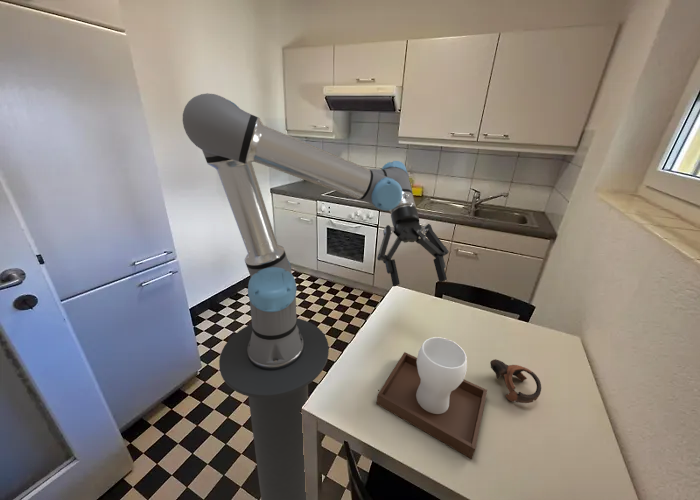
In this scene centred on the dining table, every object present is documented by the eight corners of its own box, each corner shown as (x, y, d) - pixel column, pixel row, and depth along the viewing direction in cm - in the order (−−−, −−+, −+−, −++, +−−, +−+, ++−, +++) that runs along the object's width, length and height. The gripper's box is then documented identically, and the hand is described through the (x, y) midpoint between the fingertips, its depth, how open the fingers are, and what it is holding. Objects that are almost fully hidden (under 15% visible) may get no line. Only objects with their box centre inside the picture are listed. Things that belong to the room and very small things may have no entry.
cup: (458, 392, 69) (472, 345, 64) (451, 429, 61) (466, 378, 55) (416, 375, 74) (425, 329, 68) (404, 406, 65) (413, 357, 59)
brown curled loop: (535, 385, 74) (551, 378, 67) (520, 416, 70) (536, 412, 64) (491, 355, 79) (502, 346, 73) (475, 382, 75) (486, 375, 69)
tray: (376, 403, 66) (377, 394, 65) (403, 360, 79) (404, 351, 78) (471, 459, 56) (475, 449, 55) (484, 398, 69) (487, 389, 68)
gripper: (365, 205, 73) (380, 283, 66) (448, 204, 80) (469, 275, 72) (358, 218, 80) (371, 290, 73) (435, 216, 87) (453, 282, 79)
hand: (420, 283), depth 73 cm, fingers open, 13 cm apart
